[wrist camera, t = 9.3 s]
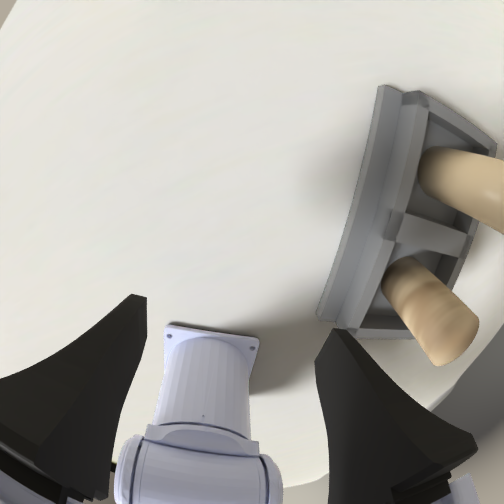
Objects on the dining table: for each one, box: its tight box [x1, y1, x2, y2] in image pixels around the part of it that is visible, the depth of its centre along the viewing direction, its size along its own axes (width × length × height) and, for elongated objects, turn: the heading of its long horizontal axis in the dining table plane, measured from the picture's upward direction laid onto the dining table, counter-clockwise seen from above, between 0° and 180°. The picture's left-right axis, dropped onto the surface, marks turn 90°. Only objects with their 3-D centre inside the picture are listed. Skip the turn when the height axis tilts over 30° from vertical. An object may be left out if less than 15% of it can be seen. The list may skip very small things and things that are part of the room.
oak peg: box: [381, 257, 479, 366], centre depth 16 cm, size 4×4×8 cm
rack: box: [316, 85, 504, 339], centre depth 15 cm, size 18×12×9 cm, turn 169°
